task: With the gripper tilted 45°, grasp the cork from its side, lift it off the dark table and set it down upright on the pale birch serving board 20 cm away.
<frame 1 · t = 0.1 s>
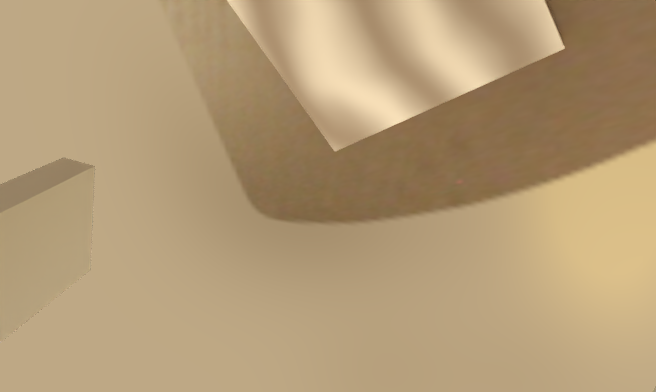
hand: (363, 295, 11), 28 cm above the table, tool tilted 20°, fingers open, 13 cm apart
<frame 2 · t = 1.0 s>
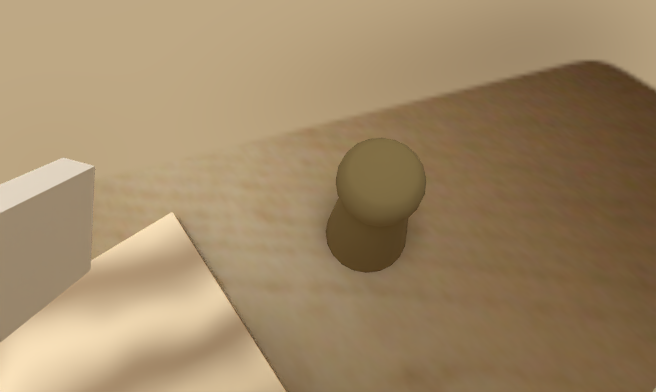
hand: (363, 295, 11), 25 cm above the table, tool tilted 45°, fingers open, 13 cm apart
cork: (365, 233, 38), on the table
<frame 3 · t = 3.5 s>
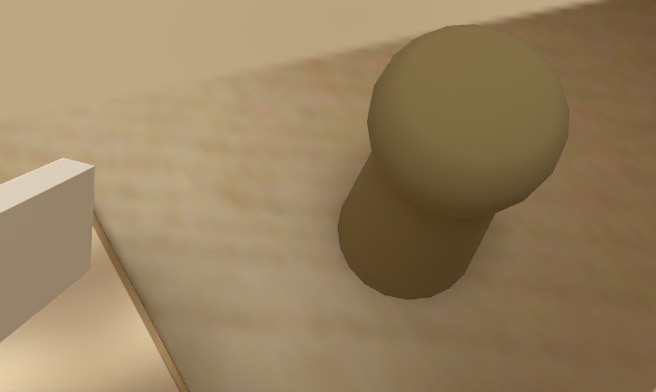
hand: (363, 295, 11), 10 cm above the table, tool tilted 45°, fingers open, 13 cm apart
cork: (405, 232, 22), on the table
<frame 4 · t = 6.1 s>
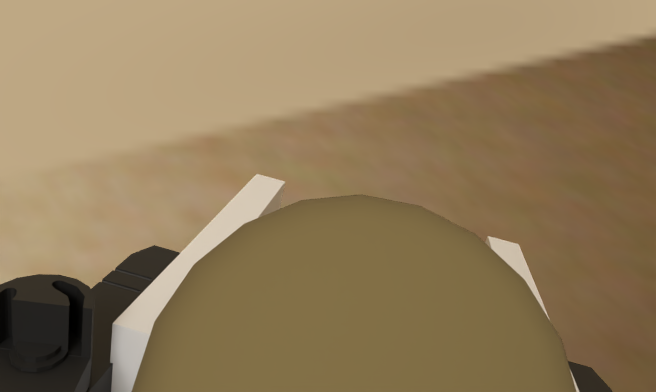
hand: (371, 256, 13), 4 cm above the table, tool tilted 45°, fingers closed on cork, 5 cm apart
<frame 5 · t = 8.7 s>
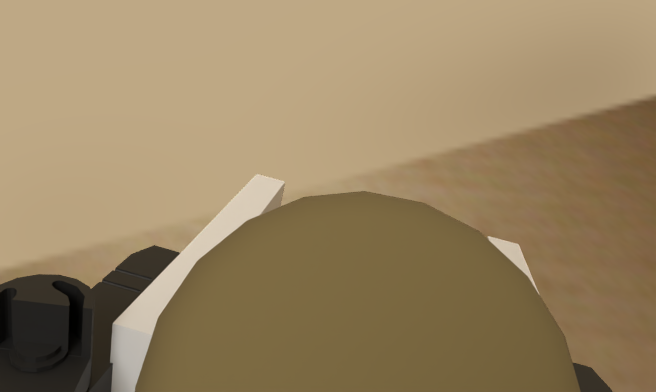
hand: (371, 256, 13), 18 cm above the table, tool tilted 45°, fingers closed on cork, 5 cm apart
when the fingers open (6 cm above the table, at t = 11.4 s): cork drops 1 cm, resting on birch board.
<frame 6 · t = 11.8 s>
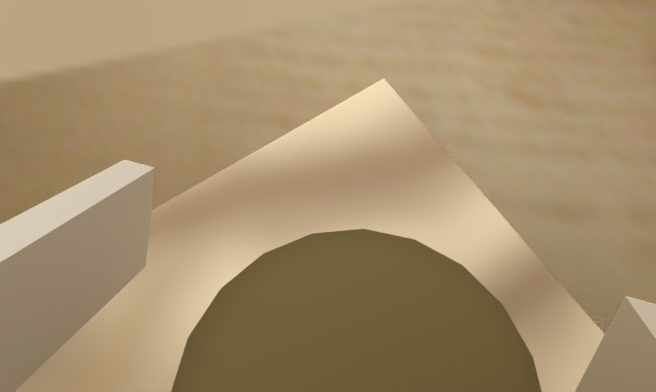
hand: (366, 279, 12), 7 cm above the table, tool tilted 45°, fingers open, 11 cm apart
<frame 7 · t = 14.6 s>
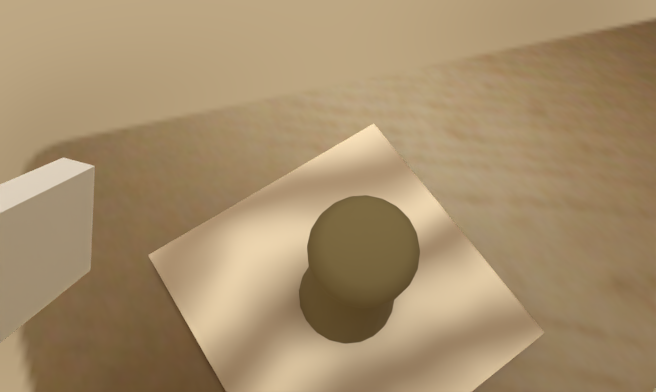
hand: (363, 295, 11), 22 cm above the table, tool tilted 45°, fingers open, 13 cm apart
cork: (346, 294, 32), point 1 cm above the table, touching birch board
birch board: (342, 298, 33), on the table
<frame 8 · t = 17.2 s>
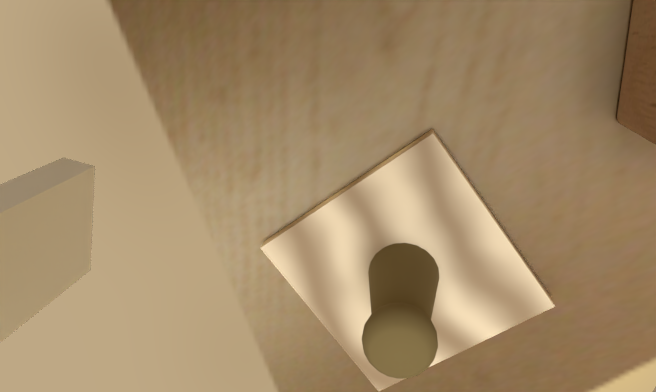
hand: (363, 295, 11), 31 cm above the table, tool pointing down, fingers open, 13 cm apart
cork: (403, 273, 44), point 1 cm above the table, touching birch board
birch board: (403, 267, 45), on the table
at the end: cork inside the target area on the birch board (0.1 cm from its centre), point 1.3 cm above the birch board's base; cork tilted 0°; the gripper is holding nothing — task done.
